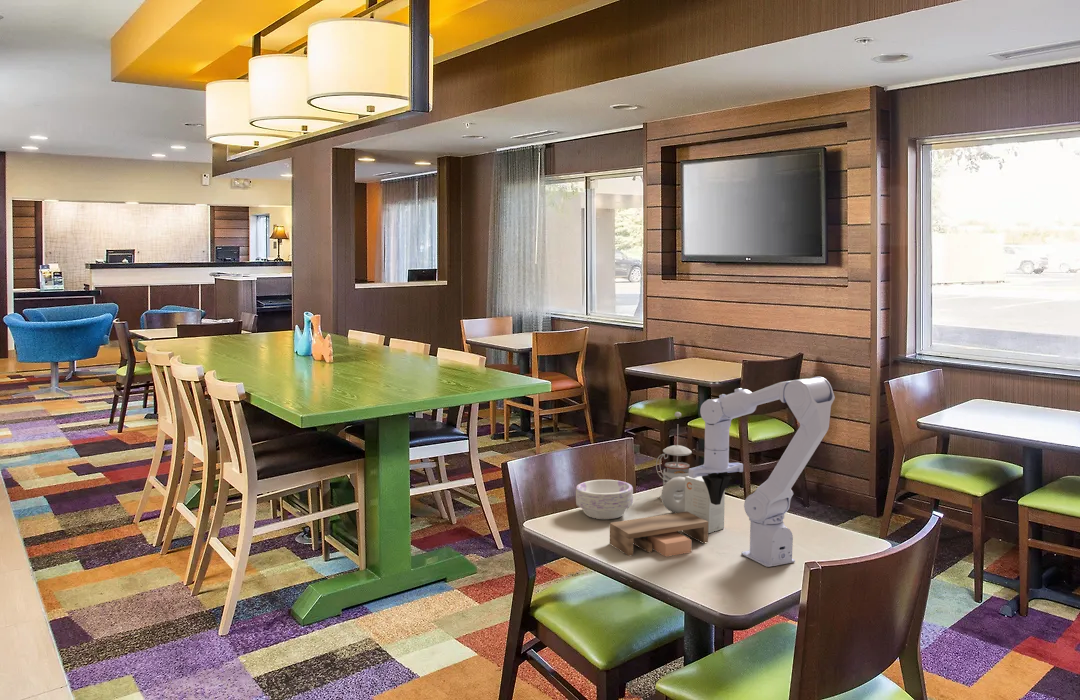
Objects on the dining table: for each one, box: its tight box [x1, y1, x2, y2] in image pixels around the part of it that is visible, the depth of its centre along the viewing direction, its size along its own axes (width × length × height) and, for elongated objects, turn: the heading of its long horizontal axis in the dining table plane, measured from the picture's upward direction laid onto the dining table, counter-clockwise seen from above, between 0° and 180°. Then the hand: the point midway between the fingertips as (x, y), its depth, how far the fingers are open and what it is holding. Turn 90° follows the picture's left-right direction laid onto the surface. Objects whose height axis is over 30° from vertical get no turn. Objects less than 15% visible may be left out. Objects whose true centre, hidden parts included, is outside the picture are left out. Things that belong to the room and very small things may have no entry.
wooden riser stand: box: [609, 512, 709, 557], centre depth 205 cm, size 9×22×5 cm, turn 114°
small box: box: [685, 476, 726, 534], centre depth 216 cm, size 8×6×13 cm
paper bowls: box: [575, 479, 634, 520], centre depth 227 cm, size 15×15×8 cm
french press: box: [655, 411, 693, 501], centre depth 242 cm, size 10×12×25 cm
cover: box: [647, 532, 692, 557], centre depth 201 cm, size 8×7×3 cm
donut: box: [660, 477, 685, 514], centre depth 228 cm, size 10×4×10 cm, turn 105°
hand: (715, 503), depth 205 cm, fingers closed
